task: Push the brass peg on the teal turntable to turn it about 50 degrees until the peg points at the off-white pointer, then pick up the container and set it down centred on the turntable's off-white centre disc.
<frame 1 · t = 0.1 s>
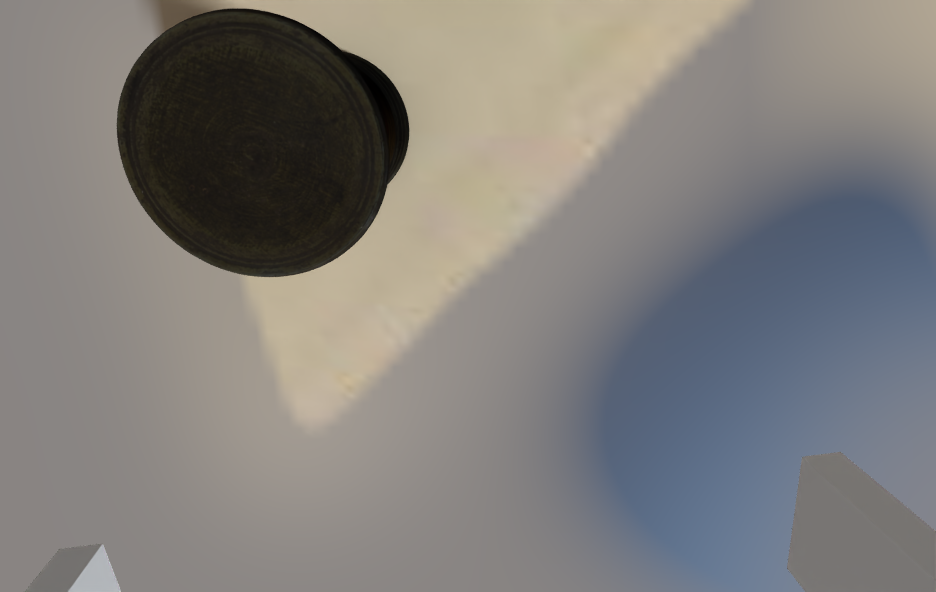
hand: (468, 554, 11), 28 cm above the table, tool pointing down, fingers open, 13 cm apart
container: (336, 130, 35), on the table
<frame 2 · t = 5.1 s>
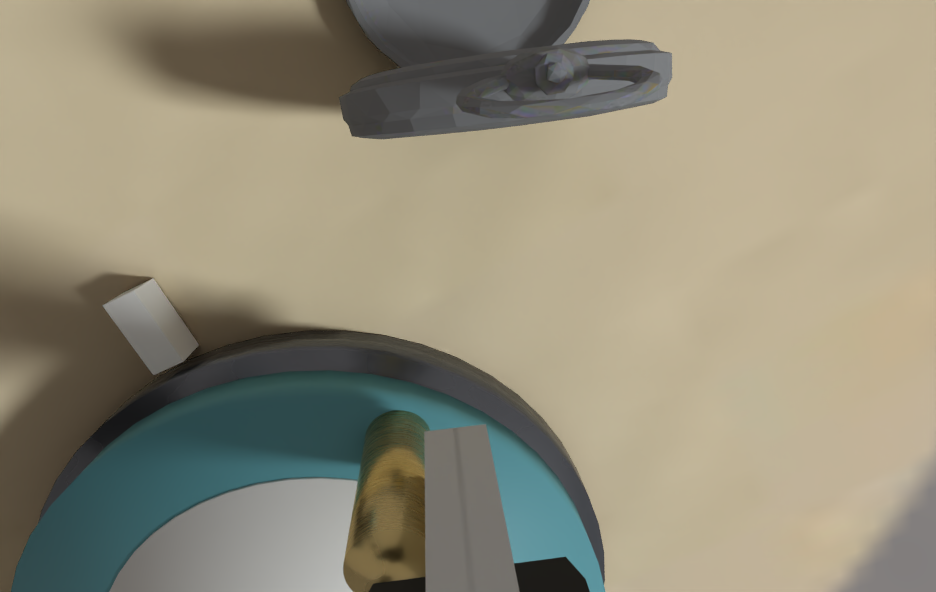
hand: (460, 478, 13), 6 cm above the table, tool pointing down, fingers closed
pocket watch: (465, 6, 15), on the table
turntable base: (338, 570, 20), on the table
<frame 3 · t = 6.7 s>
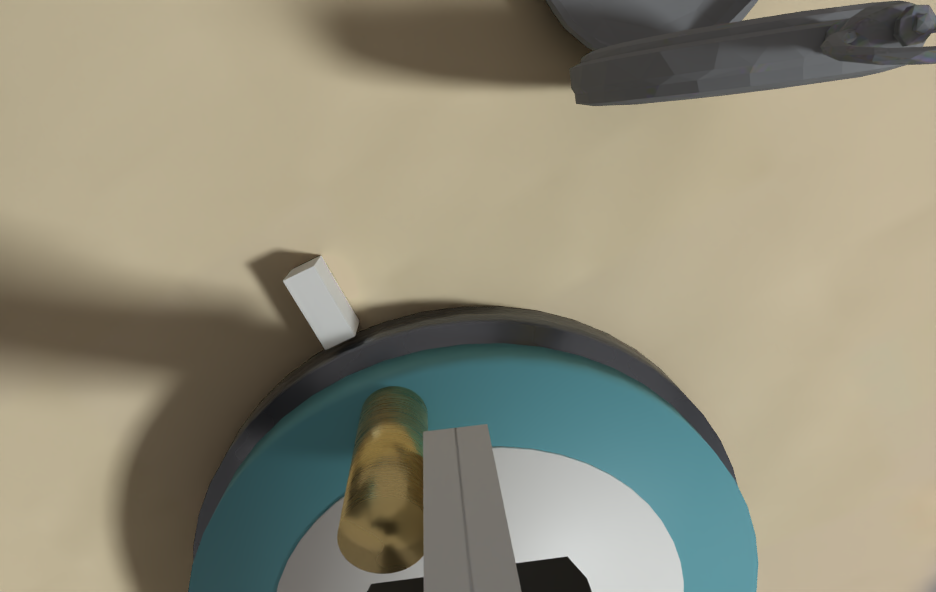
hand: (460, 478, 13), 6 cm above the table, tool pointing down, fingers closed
turntable base: (474, 545, 21), on the table
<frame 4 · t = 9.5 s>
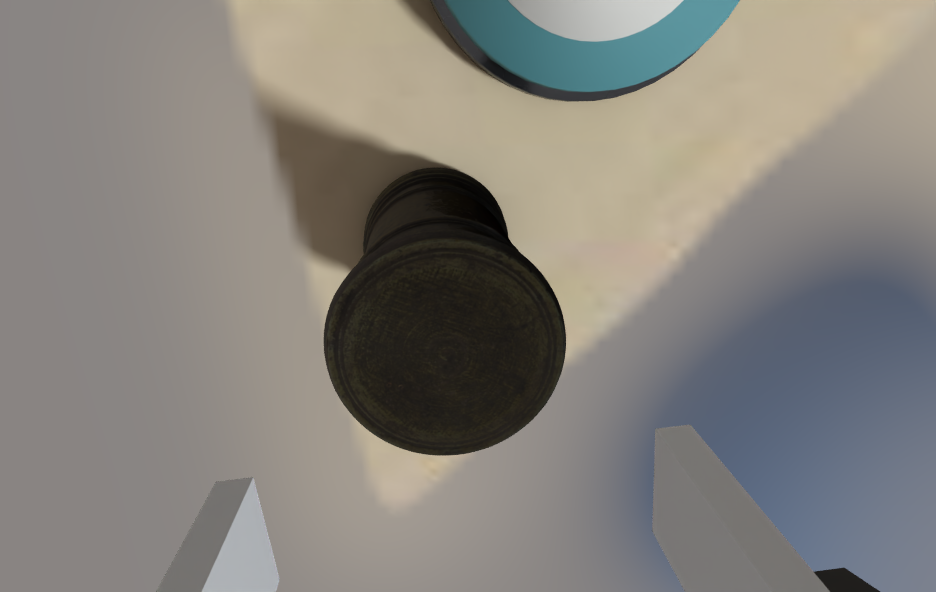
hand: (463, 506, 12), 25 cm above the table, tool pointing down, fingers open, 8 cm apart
container: (435, 237, 36), on the table
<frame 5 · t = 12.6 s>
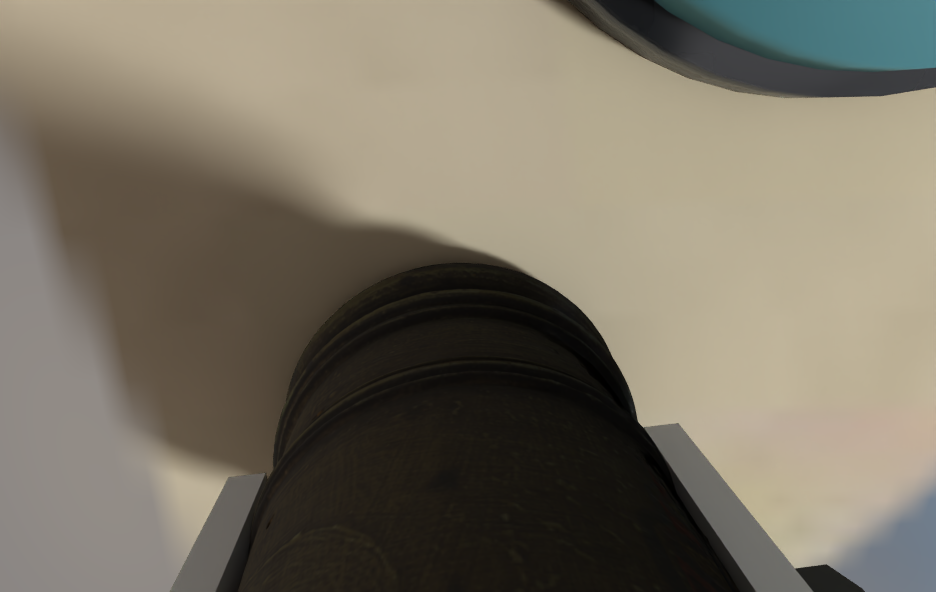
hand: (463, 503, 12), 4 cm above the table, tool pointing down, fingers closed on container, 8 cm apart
container: (454, 408, 16), on the table, touching gripper
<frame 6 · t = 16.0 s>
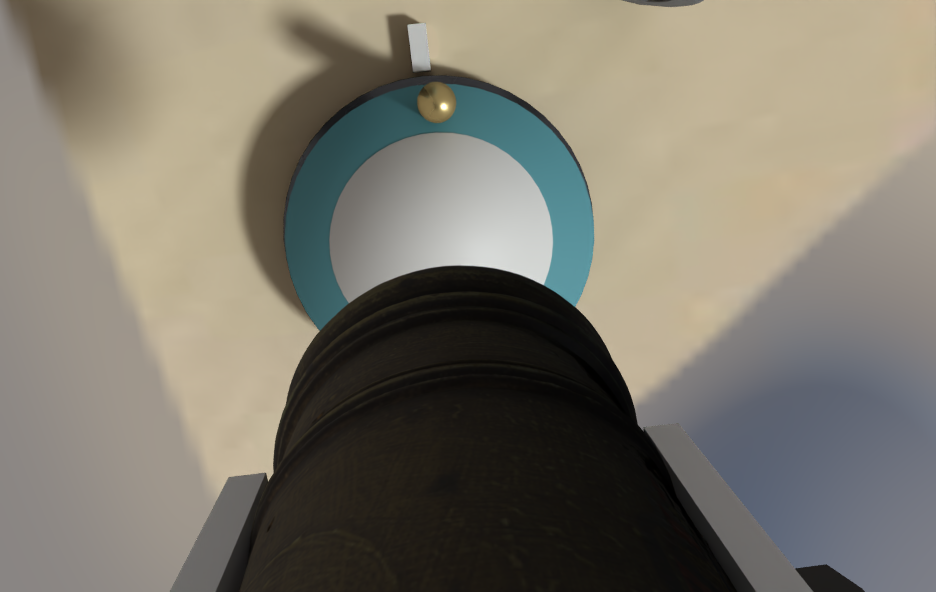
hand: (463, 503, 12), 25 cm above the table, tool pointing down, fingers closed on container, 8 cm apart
container: (454, 409, 16), point 21 cm above the table, touching gripper
turntable: (443, 254, 31), point 5 cm above the table, hinge at 41.6°
turntable base: (441, 235, 36), on the table
when the fingers open (8 cm above the table, at t = 19.7 s): container drops 1 cm, resting on turntable.
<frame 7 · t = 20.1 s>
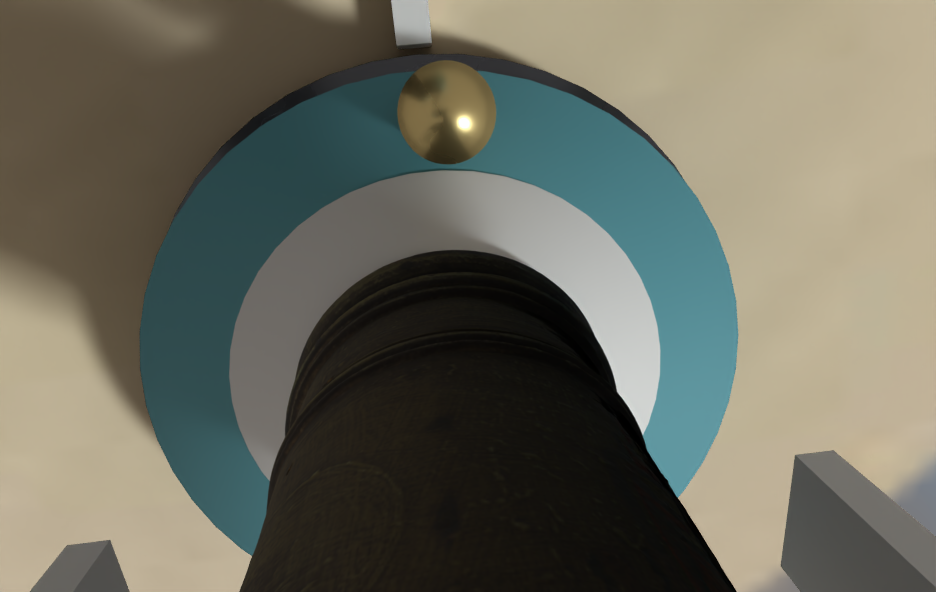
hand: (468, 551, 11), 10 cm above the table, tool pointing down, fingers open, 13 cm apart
container: (450, 385, 17), point 3 cm above the table, touching turntable
turntable: (453, 412, 16), point 5 cm above the table, hinge at 41.6°, touching container
turntable base: (446, 343, 20), on the table
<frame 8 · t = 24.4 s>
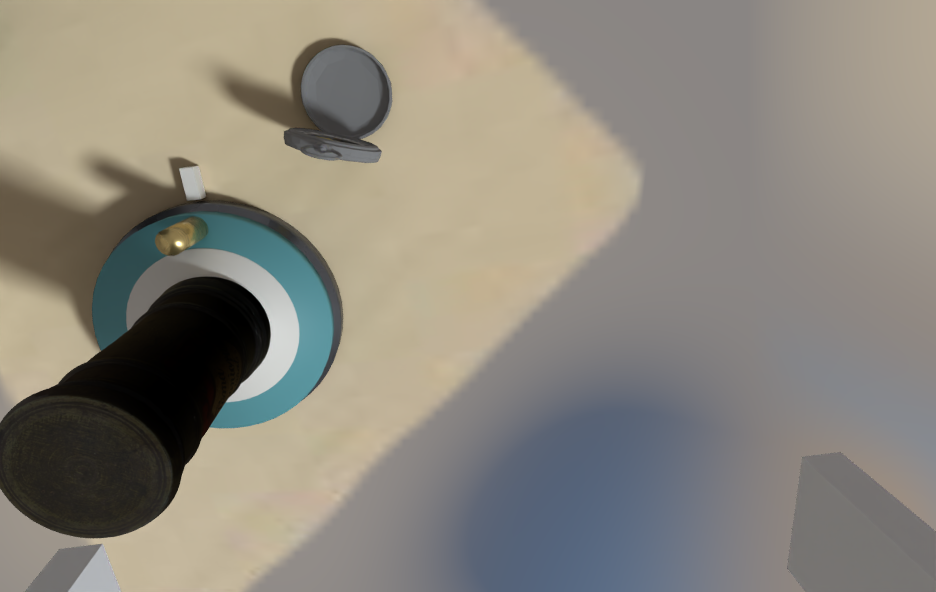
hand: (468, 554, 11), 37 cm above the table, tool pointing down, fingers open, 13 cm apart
pocket watch: (344, 109, 42), on the table
container: (214, 328, 44), point 3 cm above the table, touching turntable
turntable: (207, 336, 42), point 5 cm above the table, hinge at 41.6°, touching container
turntable base: (228, 313, 47), on the table
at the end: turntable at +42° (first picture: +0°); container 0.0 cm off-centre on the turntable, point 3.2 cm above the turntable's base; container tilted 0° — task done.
